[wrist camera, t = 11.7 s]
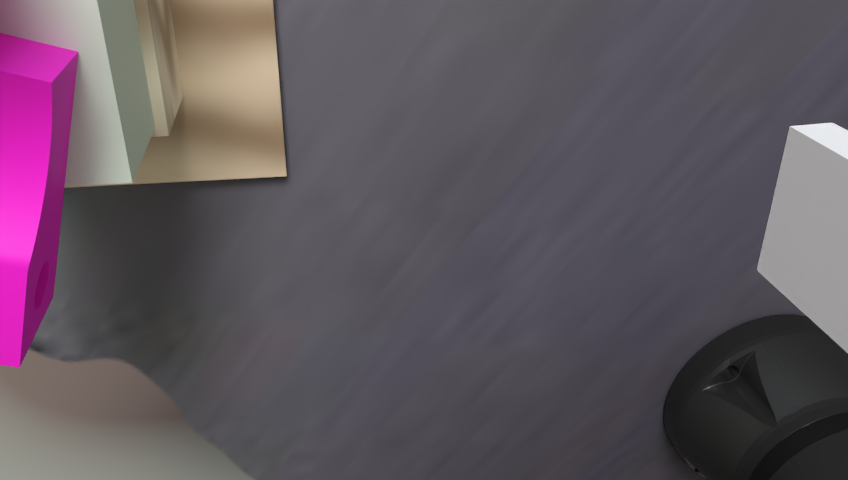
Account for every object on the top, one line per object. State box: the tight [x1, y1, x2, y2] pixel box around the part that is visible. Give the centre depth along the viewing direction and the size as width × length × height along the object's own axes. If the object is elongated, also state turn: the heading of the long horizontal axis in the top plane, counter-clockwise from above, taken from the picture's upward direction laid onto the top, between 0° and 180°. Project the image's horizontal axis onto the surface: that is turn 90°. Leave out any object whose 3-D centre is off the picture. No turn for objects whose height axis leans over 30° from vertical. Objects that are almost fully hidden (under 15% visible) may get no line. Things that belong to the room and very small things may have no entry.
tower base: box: [134, 0, 183, 137], centre depth 33 cm, size 10×10×6 cm
